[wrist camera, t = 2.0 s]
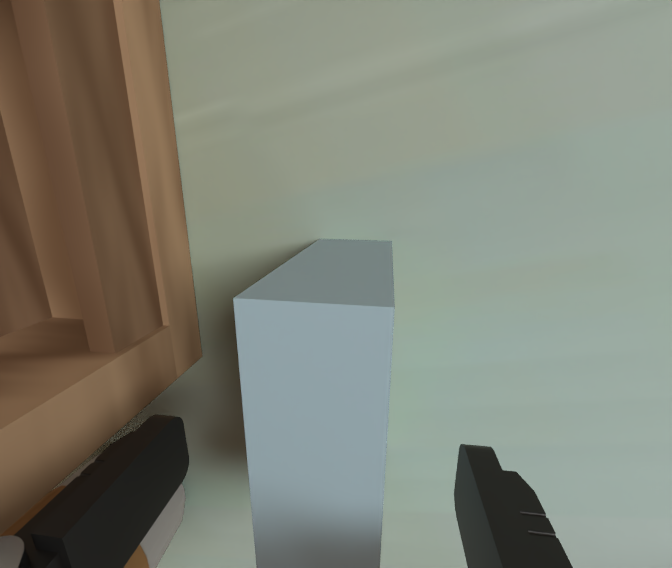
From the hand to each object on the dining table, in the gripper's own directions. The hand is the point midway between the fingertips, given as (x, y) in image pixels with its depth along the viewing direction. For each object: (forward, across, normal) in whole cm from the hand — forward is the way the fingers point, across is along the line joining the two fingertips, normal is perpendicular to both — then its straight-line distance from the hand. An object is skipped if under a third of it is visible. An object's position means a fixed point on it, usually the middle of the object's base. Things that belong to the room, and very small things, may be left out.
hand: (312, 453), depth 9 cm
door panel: (+6, -1, 0) cm, 6 cm away
